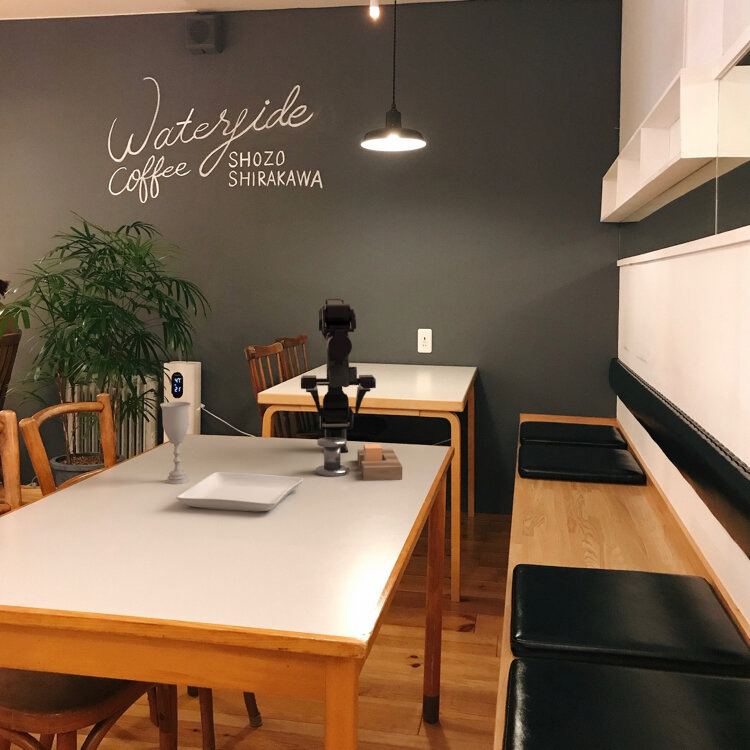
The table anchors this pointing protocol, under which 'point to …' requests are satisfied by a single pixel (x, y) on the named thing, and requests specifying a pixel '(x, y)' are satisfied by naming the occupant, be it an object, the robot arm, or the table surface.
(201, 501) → the salad plate
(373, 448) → the wooden block
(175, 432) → the chalice
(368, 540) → the table surface
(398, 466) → the notched board
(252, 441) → the table surface
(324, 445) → the bobbin
